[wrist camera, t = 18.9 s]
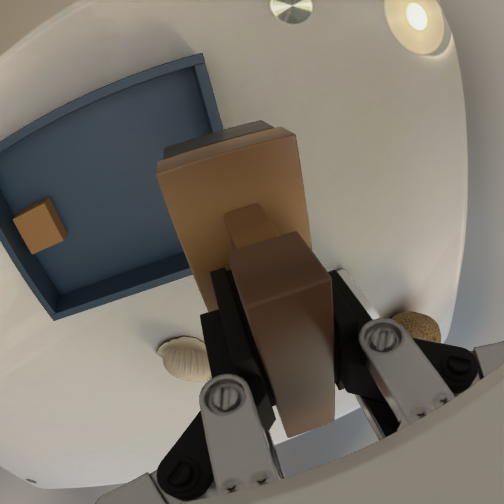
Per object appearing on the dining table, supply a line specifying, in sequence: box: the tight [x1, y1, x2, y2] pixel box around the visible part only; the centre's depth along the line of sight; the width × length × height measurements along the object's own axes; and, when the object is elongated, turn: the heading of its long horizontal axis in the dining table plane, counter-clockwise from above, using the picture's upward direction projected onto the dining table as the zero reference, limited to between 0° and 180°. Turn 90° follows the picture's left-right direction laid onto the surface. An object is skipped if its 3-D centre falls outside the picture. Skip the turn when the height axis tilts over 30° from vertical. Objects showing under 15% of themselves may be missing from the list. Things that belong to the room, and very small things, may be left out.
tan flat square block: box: [13, 197, 67, 255], centre depth 24 cm, size 4×4×2 cm
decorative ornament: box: [157, 336, 212, 382], centre depth 36 cm, size 4×8×5 cm, turn 61°
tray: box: [0, 53, 223, 321], centre depth 25 cm, size 18×22×4 cm
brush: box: [156, 120, 335, 438], centre depth 11 cm, size 10×4×8 cm, turn 12°
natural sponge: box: [391, 312, 441, 343], centre depth 42 cm, size 9×9×10 cm
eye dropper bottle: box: [337, 269, 380, 320], centre depth 34 cm, size 4×6×12 cm
